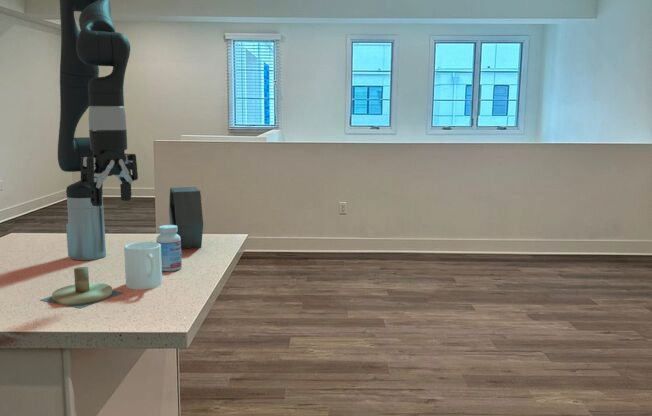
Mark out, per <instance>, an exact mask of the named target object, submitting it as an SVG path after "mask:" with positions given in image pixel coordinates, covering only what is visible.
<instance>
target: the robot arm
mask: <svg viewBox="0 0 652 416" xmlns="http://www.w3.org/2000/svg"><path fill="white" fill-rule="evenodd" d="M111 11H112V10H111V0H59V14H60V35H61V36H60V60H59V61H60V65H59V66H60V67H59V94H60V95H59V99H60V103H59V104H60V110H59V111H60V115H59V128H58V139H57V140H58V141H57V162H58V166H59V168H60V170H62V171H63V172H66V173H70V172H71V173H75V172H76V173H79V172H80V179H79V181H76V182H74V183H72V184H71V183H70V184H68V186H66V190H65V192H66V193H65V194H66V204H67V207H66V208H67V220H68V222H66V224H65V227H66V246H67V257H68V258H70V259H72V260H75V261H91V260H97V259H102V258H104V257H106V256H107V250H106V249H107V248H106V233H105V231H106V228H105V211H104V198H103V196H104V194H103V188H104V186H103V182H104V181H105V180H107V178H108V177H112V176H115V177H116V178H117V179H118V180H119V182H120V184H119V185H120V200H121V201H122V202H129V201H131V199H132V184H133V182H134V181H138V179H139V173H138V164H137V155H136V154H135V153H125V151H126V150H127V149H128V136H127V134H128V132H127V131H128V130H127V117H126V109H125V102H124V101H125V98H124V97H125V95H124V85H125V84H124V81H125V75H126V70H127V66H128V63H129V59H130V56H131V55H130V54H131V43H130V42H129V39H128V37H127V36H126V35H125V34H123V33H122V32H118V31H116V28H115V26H114V22H113V20H112V16H111V15H112V13H111ZM75 12H78V13H79V12H80V15H79V18H78V25H79V28H78V25H77V23H76V18H75ZM99 67H112V71H111V72H110V74H107V75H105V76H99V75H100V74H99V73H100V70H99V69H100V68H99ZM87 110H88V131H89V132H88V133H89V134H88V135H89V137H88V136H87V137H75V136H76V135H75V134H76V130H77V126H78V125H79V123H80V120H81V118H82V117H83V115H84V114H85V112H87Z"/></svg>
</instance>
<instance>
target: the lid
mask: <svg viewBox="0 0 652 416" xmlns="http://www.w3.org/2000/svg"><path fill="white" fill-rule="evenodd" d="M73 273H74V274H73V275H74V284H71V285H66V286H63V287H59V288H57V289H56V290H54V291H53V292H52V293H51V296H52V300H53V302H55V303H57V304H56V305H60V304H62V305H61V306H65V305H82V304H90V303H95V302H98V303H99V301H100V302H103V301H106V300H108V299H107V298H109V297H110V296H111V295H112V290H113V288H112V286H111V285H109V284H107V283H99V282H90V277H89V267H88V266H79V267H75V268H74V269H73ZM105 299H106V300H105ZM109 299H110V298H109ZM102 300H103V301H102ZM55 303H54V304H55ZM95 304H96V303H95Z"/></svg>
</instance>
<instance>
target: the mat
mask: <svg viewBox="0 0 652 416" xmlns="http://www.w3.org/2000/svg"><path fill="white" fill-rule="evenodd" d="M122 294H125V292H124V291H118V290H113V289H112V295H111V296H110V297H109V298H107V299H105V300H102V301H99V302H104V301H106V300H108V299H112V298H113V297H117V296H120V295H122ZM39 301H42V302H44V303H45V302H47V303H51V304H56V305H58V304H57V303H55V302H53V300H52V295H51V296H48V297H45V298H42V299H39ZM99 302H95V303H90V304H82V305H64V306H65V307H71V308H74V309H79V310H80V309H83V308H87V307H89V306H92V305H94V304H97V303H99ZM60 305H61V306H63V305H62V304H59V306H60Z"/></svg>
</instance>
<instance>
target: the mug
mask: <svg viewBox="0 0 652 416" xmlns="http://www.w3.org/2000/svg"><path fill="white" fill-rule="evenodd" d="M123 253H124V256H123V257H124V271H125V277H124V278H125V287H126V288H128V289H130V290H148V289H149V290H150V289H154V288H155V289H156V288H158V287H160V286H162V285H163V271H162V261H161V244H159V243H157V241H139V242H138V241H137V242H132V243H128V244H126V245H124V247H123Z"/></svg>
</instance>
